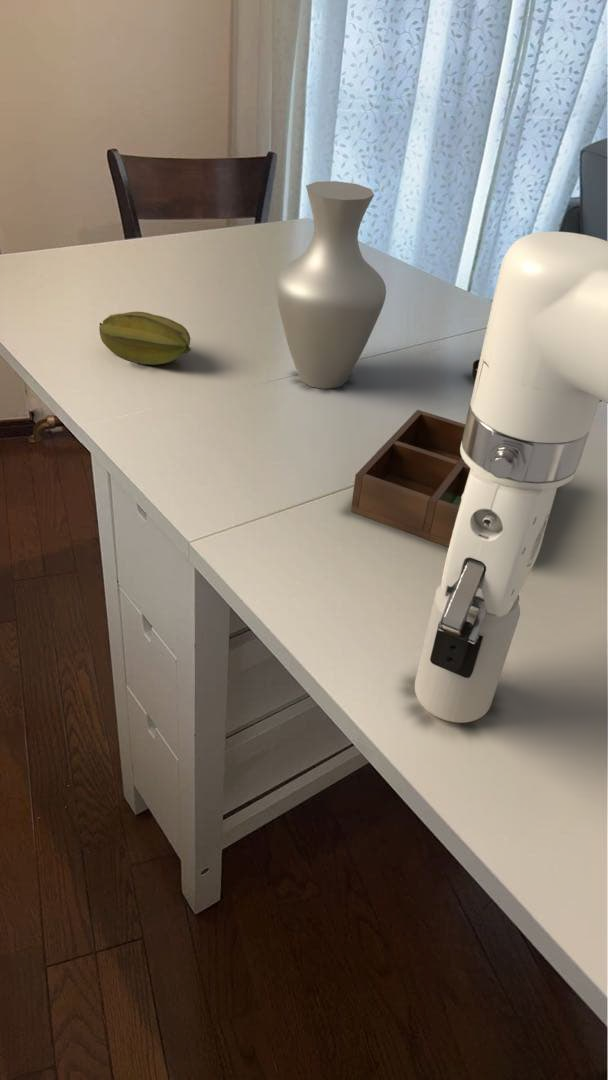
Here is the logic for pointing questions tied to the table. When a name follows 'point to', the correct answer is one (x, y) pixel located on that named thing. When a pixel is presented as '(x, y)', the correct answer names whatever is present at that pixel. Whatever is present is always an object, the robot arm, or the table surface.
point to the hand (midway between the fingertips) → (468, 635)
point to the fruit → (144, 337)
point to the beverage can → (475, 694)
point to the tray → (416, 479)
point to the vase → (330, 289)
